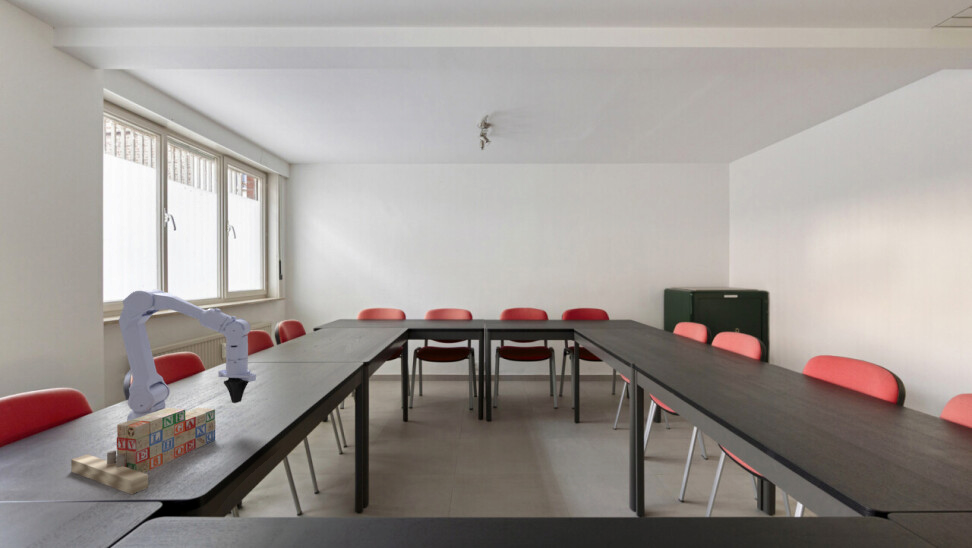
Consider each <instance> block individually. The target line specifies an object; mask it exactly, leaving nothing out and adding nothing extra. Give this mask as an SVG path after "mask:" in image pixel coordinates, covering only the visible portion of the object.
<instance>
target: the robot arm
mask: <svg viewBox="0 0 972 548" xmlns="http://www.w3.org/2000/svg"><path fill="white" fill-rule="evenodd" d="M122 304H123V308H122V309H121V313H120V315H119V318H118V325H119V328H120V329H119V330H120V332H121V337H122V340H123V345H124V348H125V352H126V356H127V360H128V364H129V367H130V368H129V369H130V372H131V376H132V382H131V384H130V386H129V388H128V391H129V397H128V400H127V405H128V407H129V408H130V410H131V411H129V414H128V415H127V418H126V422H127V421H130V420H133V419H136V418H139V417H142V416H145V415H147V414H150V413H153V412H157V411H159V410H162V409H165V408H166V400H167V399H168V397H169V396H170V392H171V391H170V387H169V386H168V385H167V384H166V382H165V381H164V377H163V376H162V375H160V374H159V373H158V372H157V368H156V365H155V364H156V363H155V360H154V355H153V352H152V348H151V343H150V340H149V334H148V331H147V327H146V322H147V321H149V319H150V317H152V316H153V315H154V314H156V313H157V312H159V311H161V310H171V311H175V312H177V313H180V314H182V315H186V316H188V317H192V318H193V319H196V320H198V322H199V324H200V326H203V327H204V328H207V329H210V330H211V331H214V332H217V333H219V334H223V337H225V339H226V345H225V352H226V353H225V369H222V370H218V373H217V375H218V378H228V379H226V380H224V381H223V384H224V386H225V387H226V389H227V391H228V393H229V397H230V400H231V403H232V404H237V403H241V402H242V399H243V395H244V393H245V390H246V388H247V385H248V384H249V383H251V382H256V381H257V374H256V373H252V371H251V369H249V366H248V365H249V362H248V360H249V343H248V342H249V341H248V340H249V339H248V337H249V336H248V334H249V333H250V332H251V324H250V322H248V321H247V320H245V319H244V318H237V316H235V315H229V314H226V313H224V312H223V311H222V309H220V308H208V309H204V308H202V307H200V306H198V305H195V304H193V303H191V302H189V301H187V300H185V299H183V298H181V297H179V296H177V295H174V294H173V293H170V292H166V291H163V290H162V289H150V290H135V291H133V292H131V293H129V295H128V296H126V297H125V298H124V299H123V300H122Z"/></svg>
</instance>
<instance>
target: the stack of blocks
mask: <svg viewBox="0 0 972 548" xmlns="http://www.w3.org/2000/svg"><path fill="white" fill-rule="evenodd" d="M116 428H117V429H116V435H117V436H116V456H117V455H119V454H126V466H125V467H127V468H130V469H133V470H136V471H139V472H142V473H146V471H147V472H149V471H151V470H153V469H155V467H156V468H158V467H160V466H162V465H164V464H167V463H168V462H169V463H170V461H173V460H175V459H177V458H178V457H181V456H183V455H185V454H187V452H188V453H190V452H191V450H192V451H194V450H195V448H196V449H198V447H199V448H200V446H201V447H202V445H203V446H205V445H207V444H209V443H211V442H210V441H212V442H214V441H215V440H216V409H215V408H209V407H207V408H205V407H196V408H194V409H191V410H187V411H186V409H185V408H172V407H165V409H162V410H159V411H157V412H153V413H150V414H147V415H145V416H142V417H139V418H136V419H133V420H130V421H127V420H126V421H124V422H121V423H119V424H117V426H116ZM213 440H214V441H213ZM208 442H209V443H208ZM206 443H207V444H206ZM204 444H205V445H204ZM193 449H194V450H193ZM189 451H190V452H189ZM157 466H158V467H157ZM148 470H149V471H148Z"/></svg>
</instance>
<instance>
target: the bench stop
mask: <svg viewBox="0 0 972 548" xmlns="http://www.w3.org/2000/svg"><path fill="white" fill-rule="evenodd" d="M70 465H71V471H70V472H72V473H74V474H77V475H79V476H82V477H85V478H88V479H89V478H90V480H92V481H95V482H97V481H98V483H100V484H103V485H106V486H108V487H111V488H113V489H116V490H118V491H121V490H122V491H121V492H124V493H127V494H130V495H134V493H135V494H137V493H138V491H139V492H142V491H144V490H145V489H149V474H148V473H146V472H144V473H142V472H139V471H136V470H133V469H130V468H127V467H125V466H126V454H119V455H117V450H110V451H108V452H107V453H106V459H102V458H101V457H100V458H99V457H97V456H93V455H91V454H89V453H88V454H84V455H81V456H79V457H74V458H72V459H71V463H70ZM143 489H144V490H143ZM141 490H142V491H141ZM136 492H137V493H136Z"/></svg>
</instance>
